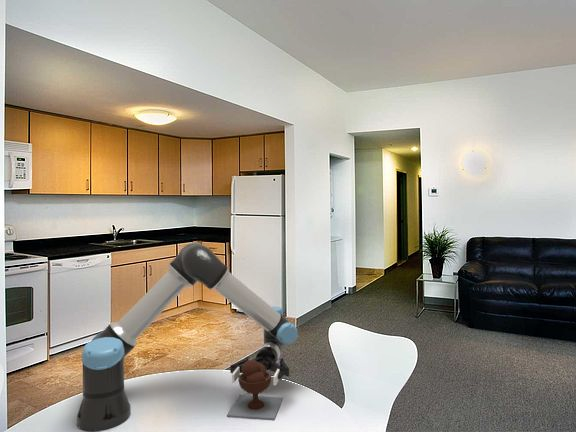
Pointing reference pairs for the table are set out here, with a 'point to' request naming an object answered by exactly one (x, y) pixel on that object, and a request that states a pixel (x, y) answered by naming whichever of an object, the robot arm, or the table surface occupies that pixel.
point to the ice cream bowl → (254, 381)
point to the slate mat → (264, 413)
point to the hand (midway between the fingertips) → (253, 380)
